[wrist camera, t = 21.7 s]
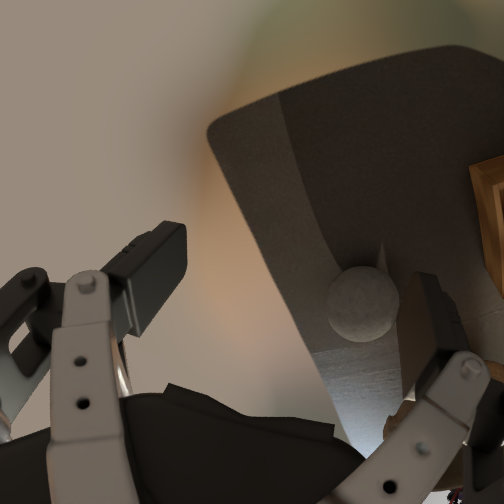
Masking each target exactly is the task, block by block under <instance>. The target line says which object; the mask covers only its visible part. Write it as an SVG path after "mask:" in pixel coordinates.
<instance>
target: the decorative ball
mask: <svg viewBox="0 0 504 504" xmlns="http://www.w3.org/2000/svg"><path fill="white" fill-rule="evenodd" d="M398 310H399V295H398V291H397V288H396V286H395V284H394V283H393V281H392V280H391V279H390V277H389V276H388V275H386V274H385V273H384V272H382V271H381V270H379V269H376V268H373V267H369V266H357V267H353V268H350V269H347V270H345V271H344V272H342V273H341V274H339V275H338V276H337V277H336V278H335V280H334V281H333V282H332V283H331V285H330V287H329V289H328V291H327V295H326V300H325V311H326V315H327V319H328V321H329V323H330V325H331V326H332V328H333V329H334V330H335V331H336V332H337V333H338V334H339V335H341V336H342V337H344V338H346V339H348V340H351V341H355V342H368V341H372V340H375V339H377V338H379V337H381V336H382V335H384V334H385V333H386V332H387V331H388V330H389V329H390V328H391V327H392V325H393V324H394V322H395V320H396V318H397V314H398Z"/></svg>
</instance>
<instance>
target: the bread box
mask: <svg viewBox="0 0 504 504" xmlns="http://www.w3.org/2000/svg"><path fill="white" fill-rule="evenodd" d="M468 167H469V171H470V175H471V180H472V184H473V189H474V194H475V199H476V205H477V210H478V216H479V222H480V229H481V236H482V243H483V252H484V261H485V268H486V269H487V271H488V273H489V275H490V277H491V278H492V280H493V282H494V284H495V286H496V287H497V289H498V291H499V293H500V295H501V297H502V299H504V155H501V156H498V157H495V158H492V159H489V160H486V161H482V162H479V163H476V164H473V165H470V166H468Z"/></svg>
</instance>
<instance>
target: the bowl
mask: <svg viewBox="0 0 504 504" xmlns="http://www.w3.org/2000/svg"><path fill="white" fill-rule="evenodd" d="M484 362H485V363H486V364H487V366H488V368H489V371H490V377H491V378H493V379H495V380H498V381H500V382H502V383H504V365H502V364H499V363H496V362H494V361H487V360H484ZM414 406H415V401H411V400H404V401H403V402H402V404H401V406H400V407H399V409H398V411H397V413H396V415H394V416H390V415H389V416H388V418H387V421H386V424H385V426H384V429H383V440H385V439H386V438H387V437H388V436H389V435H390V434H391V433H392V432H393V431H394V430H395V428H396V427H397V426H398V425H399V424H400V423H401V422H402V420H403V419H404V418H405V417H406V416H407V415H408V413H409V412H410V411H411V410H412V409H413V407H414ZM503 455H504V444H503ZM461 487H463V449H462V446H461V447H460V449H459V450H458V452H457V454H456V455H455V457H454V459H453V460H452V462H451V463H450V465H449V466H448V468H447V469H446V471H445V472H444V474H443V475H442V477H441V478H440V480H439V481H438V482H437V484H436V485H435V487H434V488H433V489H432V491H431V492H436V491H445V490H452V489H456V488H461Z"/></svg>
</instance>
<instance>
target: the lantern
mask: <svg viewBox="0 0 504 504" xmlns="http://www.w3.org/2000/svg"><path fill="white" fill-rule="evenodd" d="M450 491H451V492H450V493H449V494H448V496H447V499H449V500H448V501H450V503H449V504H452V503H454V504H458V503H457V502H458V499H459V500H462V503H461V502H460V504H463V487H461V488H456V489H452V490H450ZM453 501H455V502H453Z"/></svg>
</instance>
